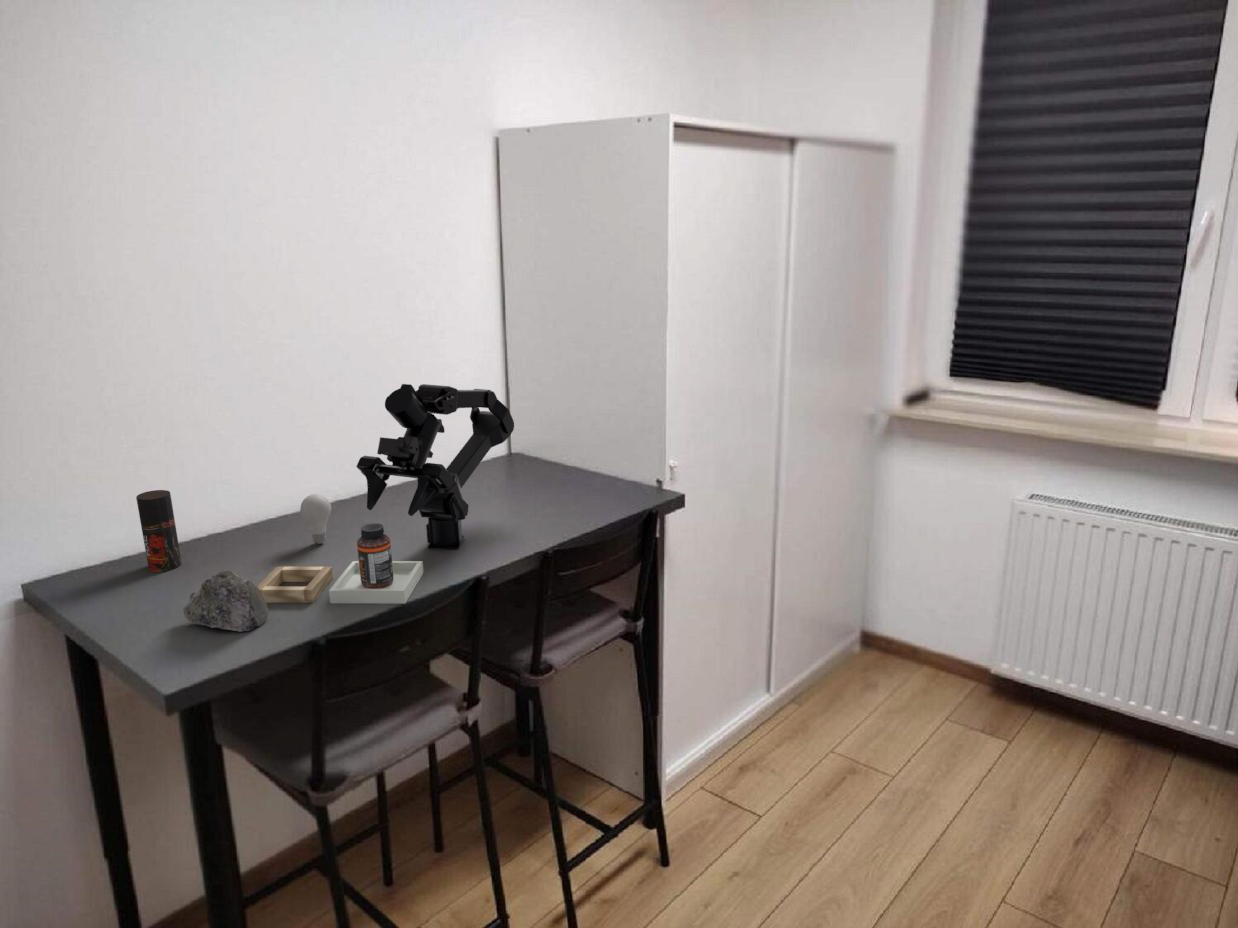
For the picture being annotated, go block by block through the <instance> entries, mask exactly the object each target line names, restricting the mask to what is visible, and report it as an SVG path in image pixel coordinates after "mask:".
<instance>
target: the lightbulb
mask: <svg viewBox="0 0 1238 928" xmlns="http://www.w3.org/2000/svg"><path fill="white" fill-rule="evenodd" d="M331 513H332V505H331V501H330V500H329V499H328V498H327V496H325V495H323V494H321V493H320V494H319V493H313V494H310V495H307V496H306V497H305V498H304V499H303V500H302V502H301V503H300V514H301V517H302V518H303V519H304V520H305V521H306V523H307V525H308V527H309V531H310V533H311V536H312V540H313V541H312V542H313V543H315V544H317V545H322V544H323V543H324V542H326V539H327V538H326V531H327V523H328V519H329V518H330V516H331Z"/></svg>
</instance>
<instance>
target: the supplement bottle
mask: <svg viewBox="0 0 1238 928" xmlns="http://www.w3.org/2000/svg"><path fill="white" fill-rule="evenodd" d="M360 530H361V531H360V532H361V533H360V535H361V536H360V537H359V538H358V540H357V543H356V548H357V556H358V561H359V568H360V577H361V583H362V585H363V586H364V587H367V588H382V587H385V586H388V585H389V584H391V583H392V582H393V566H392V561H393V559H392V557H393V556H392V546H391V540H390V537H389V536H388V535H387V534H385V530H384V524H381V523H377V522H374V523H367V524H365V525H362V526H361V527H360Z"/></svg>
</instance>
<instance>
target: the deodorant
mask: <svg viewBox="0 0 1238 928" xmlns="http://www.w3.org/2000/svg"><path fill="white" fill-rule="evenodd" d="M135 498H136V504H137V509H138V510H137V511H138V515H139V522H140V527H141V532H142V537H143V545H144V549H145V555H146V556H145V557H146V562H147V567H148V568H147V569H148V571H150V572H154V573H162V572H169V571H172V570H175V569H178V568H179V567H181V565H182V558H181V551H180V546H179V545H180V544H179V539H178V533H177V528H176V527H177V526H176V520H175V515H174V509H173V503H172V502H173V501H172V495H171V492H170V490H166V489H157V490H149V491H148V490H147V491H145V492H141V493H139V494H137V495H136V497H135Z"/></svg>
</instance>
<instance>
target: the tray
mask: <svg viewBox="0 0 1238 928" xmlns="http://www.w3.org/2000/svg"><path fill="white" fill-rule="evenodd" d="M423 563H424V562H423V560H412V561H411V560H392V566H393V582H392V583H391V584H389V585H388V586H385V587H382V588H367V587H364V586H363V585H362V583H361V577H360V568H359V560H352V562H351V563H350V564H349V565H348V566H347V568H346V569H345V570H344V571H343V572H342V574H341V575H340V576H339V578H337V580H336V581H335V582H334V583H333V585H332V586H331V587H330V589H329V590H328V595H329V603H330V604H381V605H382V604H383V605H385V604H395V605H396V604H398V605H399V604H403V605H404V604H406V603H407V601H408V600H409V598H410V596H411V595H412V593H413V591H414V589H415V588H416V586H417V585H418V583H419V582H420V579H421V578H422V576H423V574H424V564H423Z"/></svg>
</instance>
